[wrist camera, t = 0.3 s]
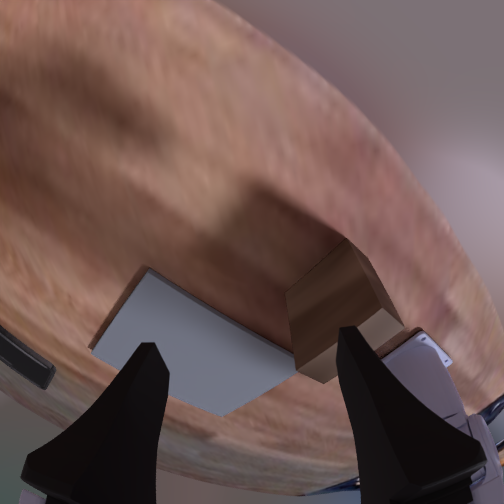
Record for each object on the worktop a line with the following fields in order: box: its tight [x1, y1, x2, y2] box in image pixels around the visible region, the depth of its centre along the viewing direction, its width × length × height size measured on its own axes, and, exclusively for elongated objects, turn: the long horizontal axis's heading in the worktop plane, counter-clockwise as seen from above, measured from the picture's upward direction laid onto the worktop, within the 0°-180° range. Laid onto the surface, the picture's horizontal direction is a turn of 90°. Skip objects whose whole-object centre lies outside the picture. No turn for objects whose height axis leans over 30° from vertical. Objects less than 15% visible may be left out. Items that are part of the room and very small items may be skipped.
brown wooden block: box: [285, 238, 405, 384], centre depth 18 cm, size 3×6×7 cm, turn 140°
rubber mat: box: [91, 268, 298, 417], centre depth 26 cm, size 16×13×1 cm
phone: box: [0, 325, 56, 390], centre depth 27 cm, size 8×1×15 cm
